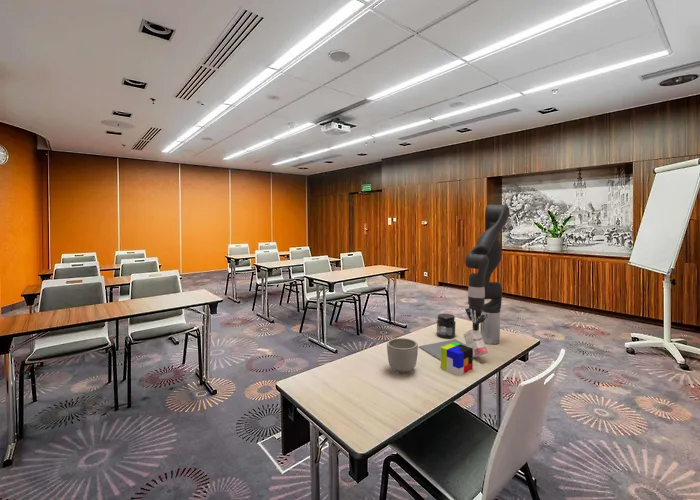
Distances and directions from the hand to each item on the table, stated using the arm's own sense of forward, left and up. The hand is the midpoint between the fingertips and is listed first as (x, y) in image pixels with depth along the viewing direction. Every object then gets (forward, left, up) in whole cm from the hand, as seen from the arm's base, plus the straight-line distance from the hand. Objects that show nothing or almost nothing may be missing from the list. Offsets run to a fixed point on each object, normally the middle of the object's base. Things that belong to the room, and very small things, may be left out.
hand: (475, 330), depth 167 cm
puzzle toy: (+5, -16, -15) cm, 22 cm away
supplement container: (-32, +7, -15) cm, 36 cm away
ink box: (+3, 0, -12) cm, 12 cm away
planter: (-4, -39, -15) cm, 42 cm away
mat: (-13, -5, -14) cm, 20 cm away
